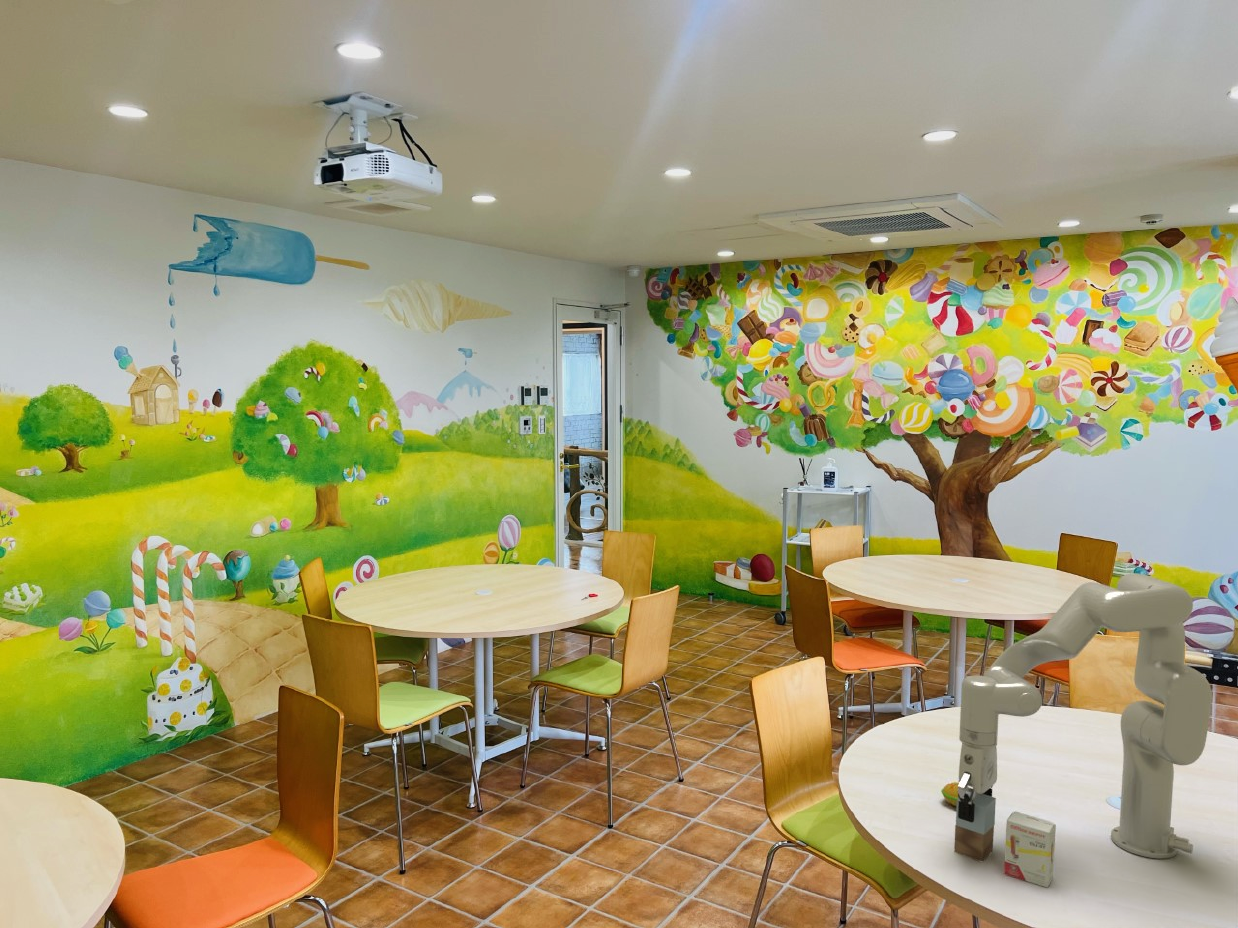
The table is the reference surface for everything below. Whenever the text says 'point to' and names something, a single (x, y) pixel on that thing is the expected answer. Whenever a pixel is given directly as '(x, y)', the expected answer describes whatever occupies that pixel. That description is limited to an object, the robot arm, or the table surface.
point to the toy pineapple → (951, 793)
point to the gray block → (980, 814)
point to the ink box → (1029, 848)
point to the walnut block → (973, 843)
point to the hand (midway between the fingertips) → (975, 811)
